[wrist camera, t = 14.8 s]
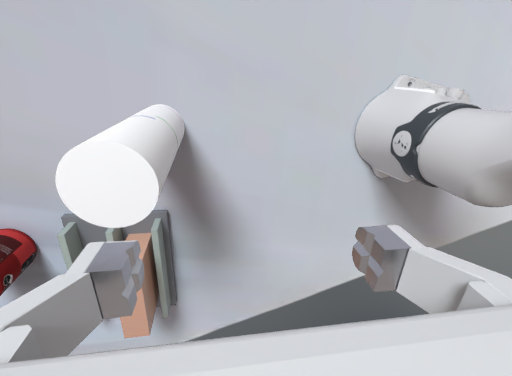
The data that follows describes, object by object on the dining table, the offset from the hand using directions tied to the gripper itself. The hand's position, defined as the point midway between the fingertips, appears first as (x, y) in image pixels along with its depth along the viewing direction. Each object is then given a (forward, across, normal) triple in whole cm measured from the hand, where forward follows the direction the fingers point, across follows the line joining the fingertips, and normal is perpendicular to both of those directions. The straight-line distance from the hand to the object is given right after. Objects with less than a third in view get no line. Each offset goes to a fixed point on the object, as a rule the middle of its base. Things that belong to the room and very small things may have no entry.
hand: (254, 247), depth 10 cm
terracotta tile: (+35, +16, +28) cm, 48 cm away
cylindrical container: (+37, +10, +2) cm, 38 cm away
